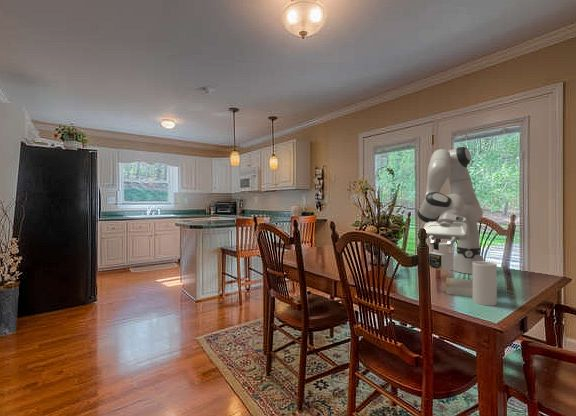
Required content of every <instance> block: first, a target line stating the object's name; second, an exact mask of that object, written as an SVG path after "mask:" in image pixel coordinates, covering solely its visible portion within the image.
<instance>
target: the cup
mask: <svg viewBox="0 0 576 416" xmlns="http://www.w3.org/2000/svg"><path fill="white" fill-rule="evenodd" d="M497 265H498V264H497V263H495V262H493V261H485V260H484V261H474V262H473V274H472V280H473V297H472V302H473V303H475V304H477V305H482V306H489V307H490V306H496V305H498V301H497V299H498V298H497V297H498V295H497V294H498V285H497V282H498V280H497V277H498V276H497V275H498V271H497V270H498V269H497V268H498V267H497Z"/></svg>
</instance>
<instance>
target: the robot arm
mask: <svg viewBox="0 0 576 416" xmlns="http://www.w3.org/2000/svg"><path fill="white" fill-rule="evenodd" d="M471 160H472V155H471V152H470V150H469V148H468V147H466V146H460V147H457V148H453V149H449V150H447V149H444V148H440V149H436V150H434V152H433V153H432V155H431V157H430V159H429V161H428V167H427V180H426V190H425V194H424V199H423V201H422V203H421V205H420V207H419V209H418V210H417V217H418V218H419V220H421V221H422V222H424V226H423V228H424V229H425V230H426V233H427V238H426V239H429V245H430V246H433V243H435V242H436V241H435V239H436V240H437V239H438V240H447V242H446V243H447V245H448V248H449V247H452V246H453V244H455V243H457V245H456V254H455V255H453V269H450V270H449V271H454V272H458V273H463V274H469V275H473V262H474V261H485V259H484V257H483V256H482V255H481V254H482V253H481V252H482V249H481V245H480V244H481V243H480V242H481V241H480V240H481V239H480V237H481V236H480V235H481V234H480V232H479V228H478V221H480V220H481V219H482V217H483V215H484V211H483V209H482V207H481V205H480V202H479V200H478V197H477V195H476V193H475V190H474V186H473V182H472V179H471V175H470V171H469V170H468V166H469V164H470V162H471ZM447 180H448V182H449V183H448V184H449V186H450V191H451V193H450V194H444V193H441V192H440V191H441V189H442V188H443V186H444V185H445V183H446V181H447ZM423 228H422V229H423Z"/></svg>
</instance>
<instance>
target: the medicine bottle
mask: <svg viewBox="0 0 576 416" xmlns="http://www.w3.org/2000/svg"><path fill="white" fill-rule="evenodd" d="M434 242H435V243H433V245H432V246H433V251H431V252H430V251H429V252H428V256H429V257H428V263H429V264H428V266H429V268H430V269H434V270H438V271H448V270H449V271H451V270H450V269H453V266H454V265H453V263H454V262H453V258H454V253H452V252H449V246H448V245H447V242H446V241H434Z"/></svg>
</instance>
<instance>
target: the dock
mask: <svg viewBox="0 0 576 416" xmlns="http://www.w3.org/2000/svg"><path fill="white" fill-rule="evenodd" d="M445 279H446V280H445V294H447V295H454V296H462V297H464V296H465V297H472V298H473V279H463V278H451V277H448V276H447V277H445Z"/></svg>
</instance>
